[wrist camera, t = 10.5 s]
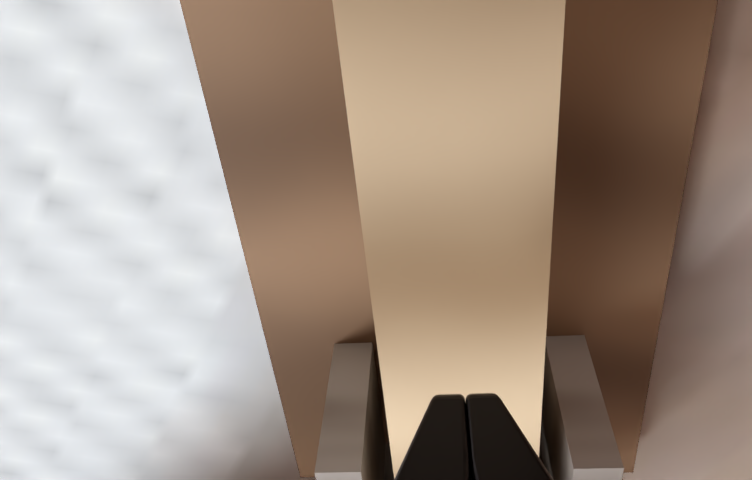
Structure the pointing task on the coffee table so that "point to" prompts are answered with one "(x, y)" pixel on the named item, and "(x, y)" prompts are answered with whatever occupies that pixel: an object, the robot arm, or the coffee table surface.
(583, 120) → the end cap base
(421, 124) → the birch slat
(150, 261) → the coffee table surface
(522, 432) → the robot arm
